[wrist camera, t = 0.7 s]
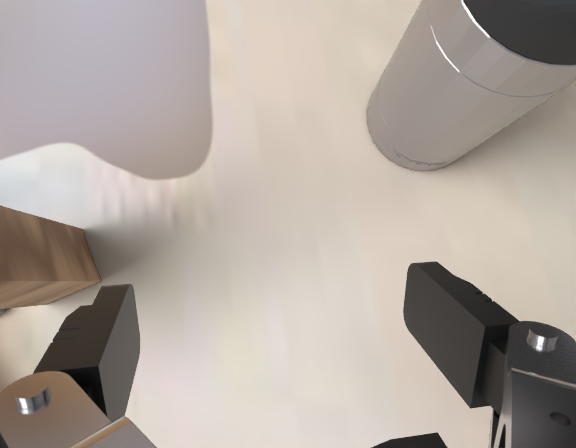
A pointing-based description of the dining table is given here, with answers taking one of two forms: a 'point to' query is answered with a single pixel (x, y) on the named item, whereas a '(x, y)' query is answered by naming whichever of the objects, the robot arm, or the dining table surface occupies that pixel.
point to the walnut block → (41, 260)
